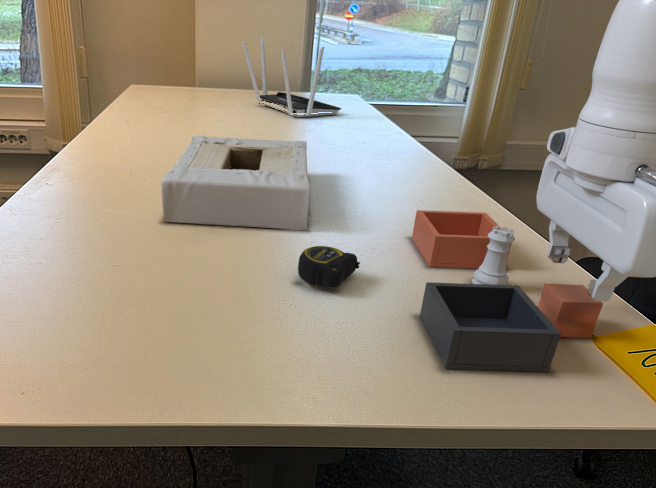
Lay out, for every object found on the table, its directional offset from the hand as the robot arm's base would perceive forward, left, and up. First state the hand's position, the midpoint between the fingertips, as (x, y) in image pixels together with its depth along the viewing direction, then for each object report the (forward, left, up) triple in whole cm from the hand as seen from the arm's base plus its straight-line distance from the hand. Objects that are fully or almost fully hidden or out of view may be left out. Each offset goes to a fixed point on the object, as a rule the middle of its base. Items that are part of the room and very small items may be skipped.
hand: (575, 278), depth 65 cm
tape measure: (+26, -10, -7) cm, 28 cm away
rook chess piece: (+5, -10, -7) cm, 13 cm away
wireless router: (+25, -130, -7) cm, 133 cm away
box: (+38, -44, -7) cm, 58 cm away
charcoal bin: (+11, +4, -6) cm, 13 cm away
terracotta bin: (+6, -21, -6) cm, 23 cm away
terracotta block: (0, 0, -6) cm, 6 cm away
